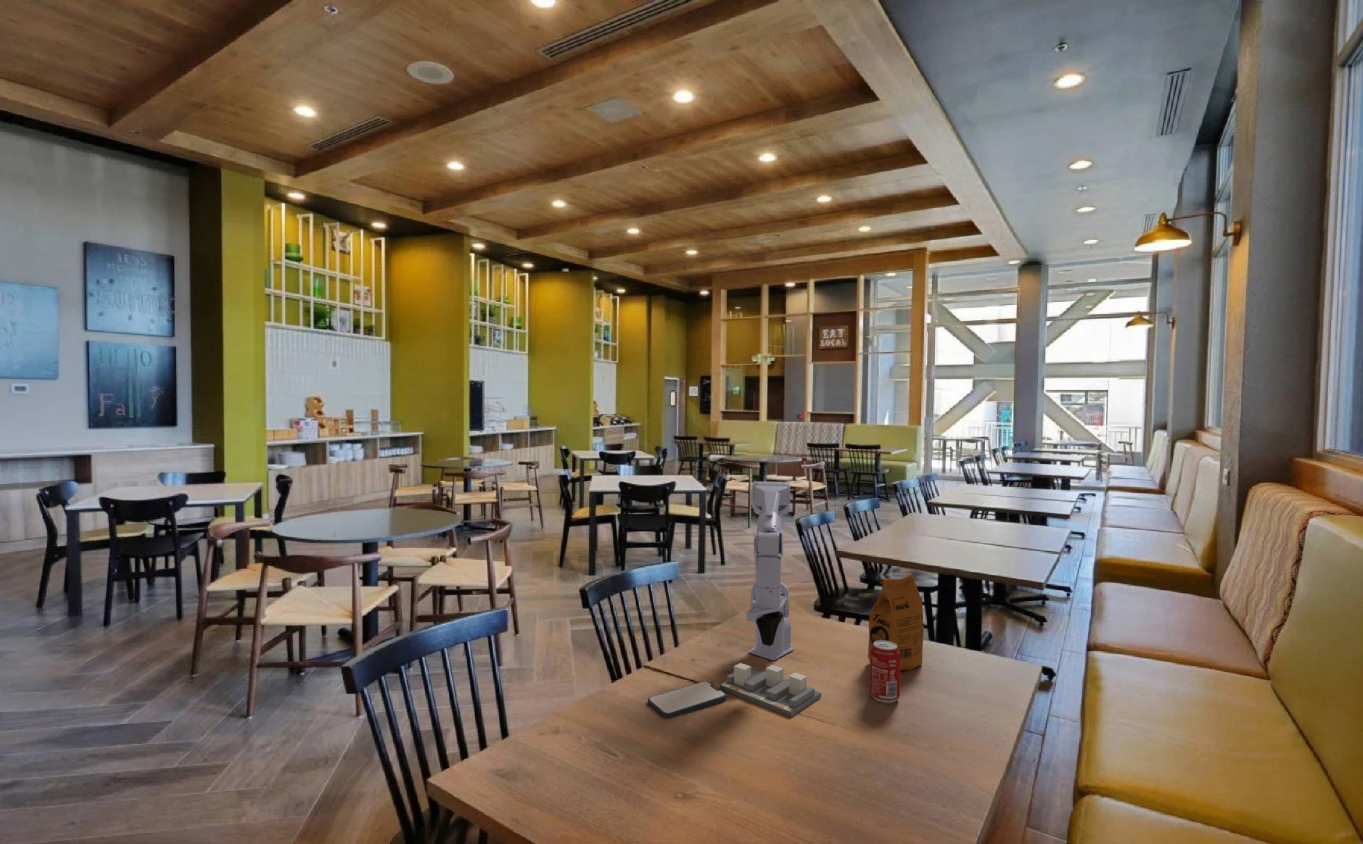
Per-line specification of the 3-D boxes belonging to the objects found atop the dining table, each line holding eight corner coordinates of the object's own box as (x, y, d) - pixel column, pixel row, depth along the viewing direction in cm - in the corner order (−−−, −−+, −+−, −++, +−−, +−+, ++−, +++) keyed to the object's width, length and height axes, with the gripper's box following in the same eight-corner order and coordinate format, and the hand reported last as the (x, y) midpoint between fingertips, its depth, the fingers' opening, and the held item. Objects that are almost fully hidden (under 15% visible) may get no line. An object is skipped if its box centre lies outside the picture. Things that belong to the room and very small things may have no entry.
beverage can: (895, 692, 145) (896, 639, 144) (902, 706, 138) (903, 650, 138) (867, 691, 145) (867, 638, 145) (872, 704, 139) (873, 649, 139)
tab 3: (794, 689, 144) (794, 672, 143) (806, 694, 141) (806, 676, 141) (788, 693, 142) (789, 676, 142) (800, 697, 140) (800, 680, 140)
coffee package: (861, 661, 162) (862, 574, 161) (897, 652, 167) (899, 568, 166) (891, 677, 153) (893, 584, 152) (928, 667, 159) (930, 578, 158)
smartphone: (665, 723, 132) (729, 702, 141) (665, 715, 132) (729, 695, 141) (645, 705, 140) (706, 686, 148) (645, 698, 140) (706, 679, 148)
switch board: (750, 672, 155) (750, 662, 155) (821, 697, 142) (821, 686, 142) (719, 689, 146) (719, 678, 146) (791, 717, 133) (791, 705, 133)
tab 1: (740, 679, 149) (740, 663, 148) (750, 683, 146) (751, 666, 146) (733, 683, 147) (734, 666, 147) (744, 687, 145) (744, 670, 145)
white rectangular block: (772, 681, 148) (772, 664, 147) (783, 685, 146) (783, 668, 145) (766, 685, 146) (766, 668, 146) (777, 689, 144) (777, 672, 144)
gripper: (769, 575, 154) (769, 631, 155) (735, 589, 143) (734, 649, 144) (796, 580, 150) (795, 638, 150) (762, 595, 139) (762, 657, 139)
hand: (767, 644), depth 147 cm, fingers closed
